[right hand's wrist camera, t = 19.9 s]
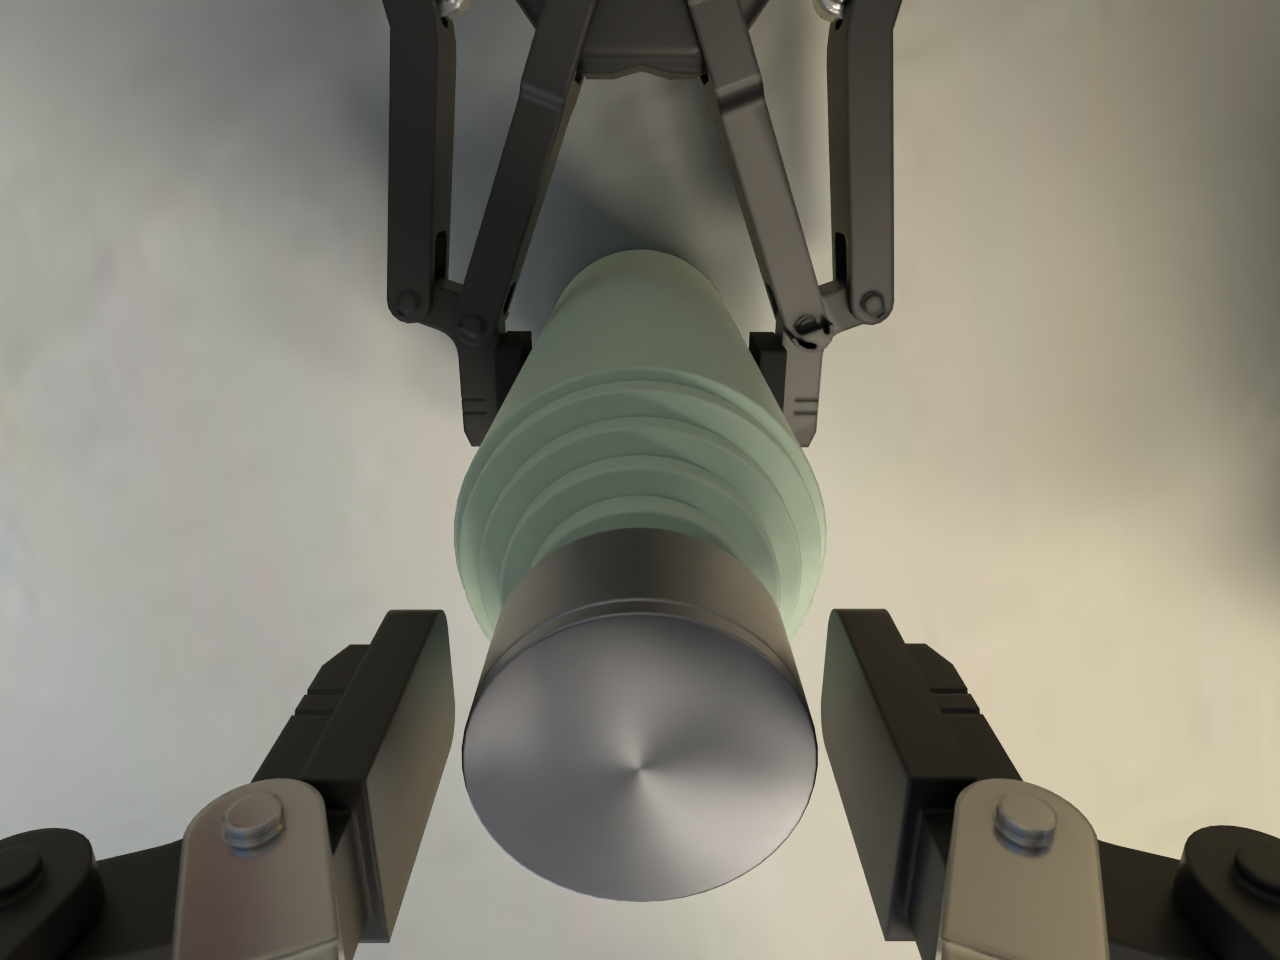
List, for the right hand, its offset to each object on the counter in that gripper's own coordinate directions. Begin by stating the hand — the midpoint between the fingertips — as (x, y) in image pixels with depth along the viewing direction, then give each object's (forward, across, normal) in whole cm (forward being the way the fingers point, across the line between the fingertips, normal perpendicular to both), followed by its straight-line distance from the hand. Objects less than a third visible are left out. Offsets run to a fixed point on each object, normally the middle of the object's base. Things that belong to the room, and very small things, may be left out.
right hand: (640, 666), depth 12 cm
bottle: (+22, 0, 0) cm, 22 cm away
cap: (-2, 0, 0) cm, 2 cm away
